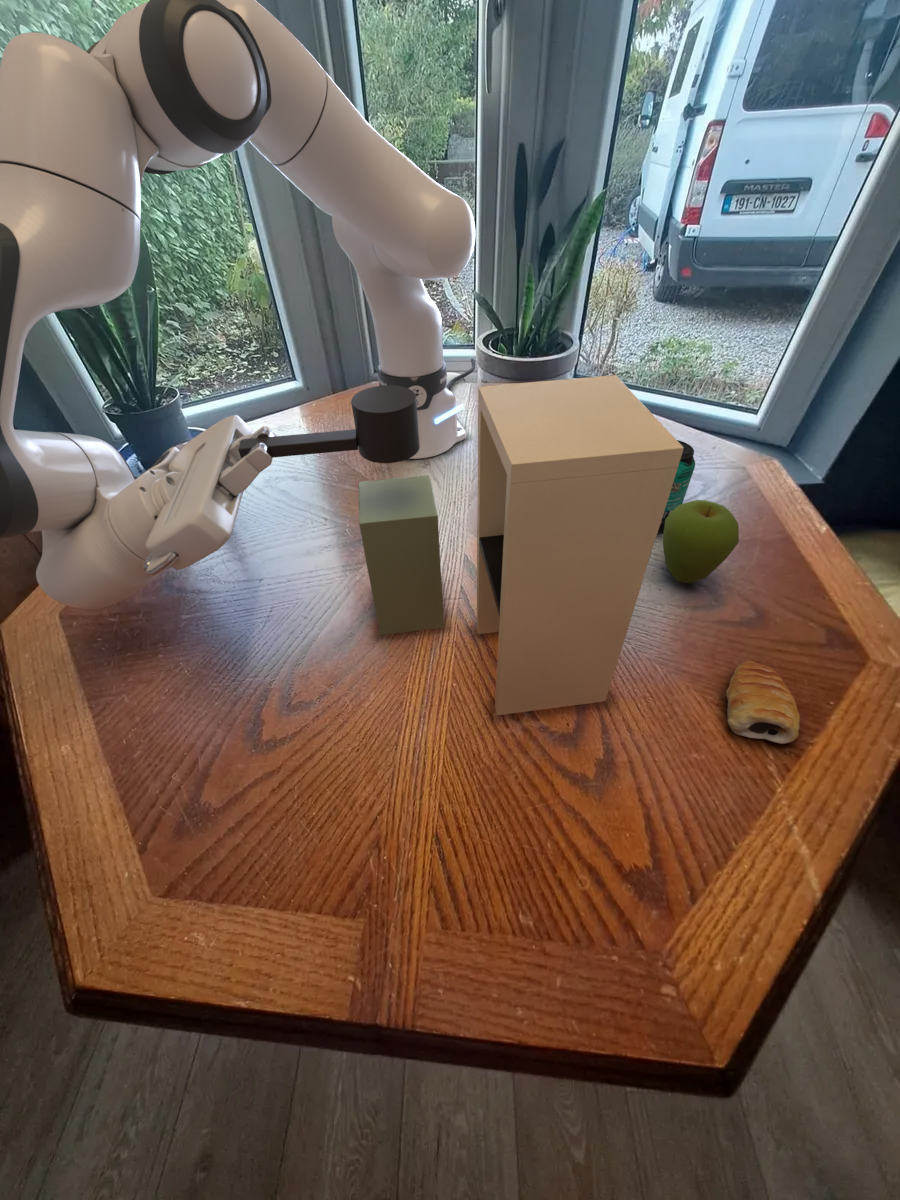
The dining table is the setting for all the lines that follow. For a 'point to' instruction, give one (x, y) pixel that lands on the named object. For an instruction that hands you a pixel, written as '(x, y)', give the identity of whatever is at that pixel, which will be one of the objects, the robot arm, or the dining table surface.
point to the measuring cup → (360, 430)
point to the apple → (698, 539)
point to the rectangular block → (402, 553)
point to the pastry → (761, 705)
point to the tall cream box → (565, 531)
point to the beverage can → (680, 482)
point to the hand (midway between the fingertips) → (269, 442)
